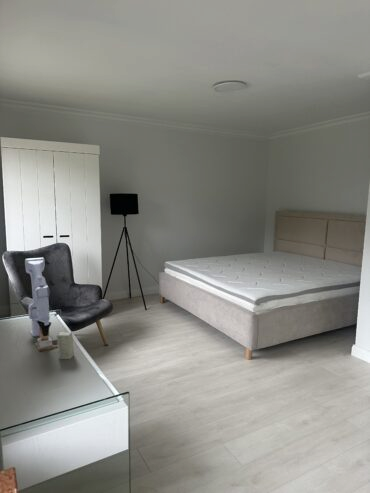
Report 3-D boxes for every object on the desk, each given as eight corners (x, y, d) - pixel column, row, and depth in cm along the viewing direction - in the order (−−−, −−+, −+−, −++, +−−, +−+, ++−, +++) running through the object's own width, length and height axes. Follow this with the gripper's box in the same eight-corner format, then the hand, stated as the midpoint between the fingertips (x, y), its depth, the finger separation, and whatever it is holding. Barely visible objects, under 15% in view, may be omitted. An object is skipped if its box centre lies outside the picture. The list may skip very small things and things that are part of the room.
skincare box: (74, 355, 170) (73, 331, 168) (70, 359, 165) (69, 335, 164) (62, 354, 170) (60, 331, 169) (57, 358, 166) (56, 334, 164)
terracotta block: (39, 336, 180) (39, 327, 179) (47, 335, 182) (47, 326, 182) (41, 339, 177) (40, 330, 176) (49, 337, 179) (48, 328, 178)
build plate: (35, 344, 182) (34, 337, 181) (56, 340, 188) (56, 333, 188) (39, 351, 174) (38, 344, 173) (61, 346, 180) (61, 339, 180)
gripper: (31, 307, 181) (33, 331, 183) (37, 314, 169) (39, 340, 171) (45, 304, 185) (47, 328, 187) (52, 311, 173) (54, 337, 175)
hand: (44, 334), depth 179 cm, fingers closed on terracotta block, 4 cm apart
